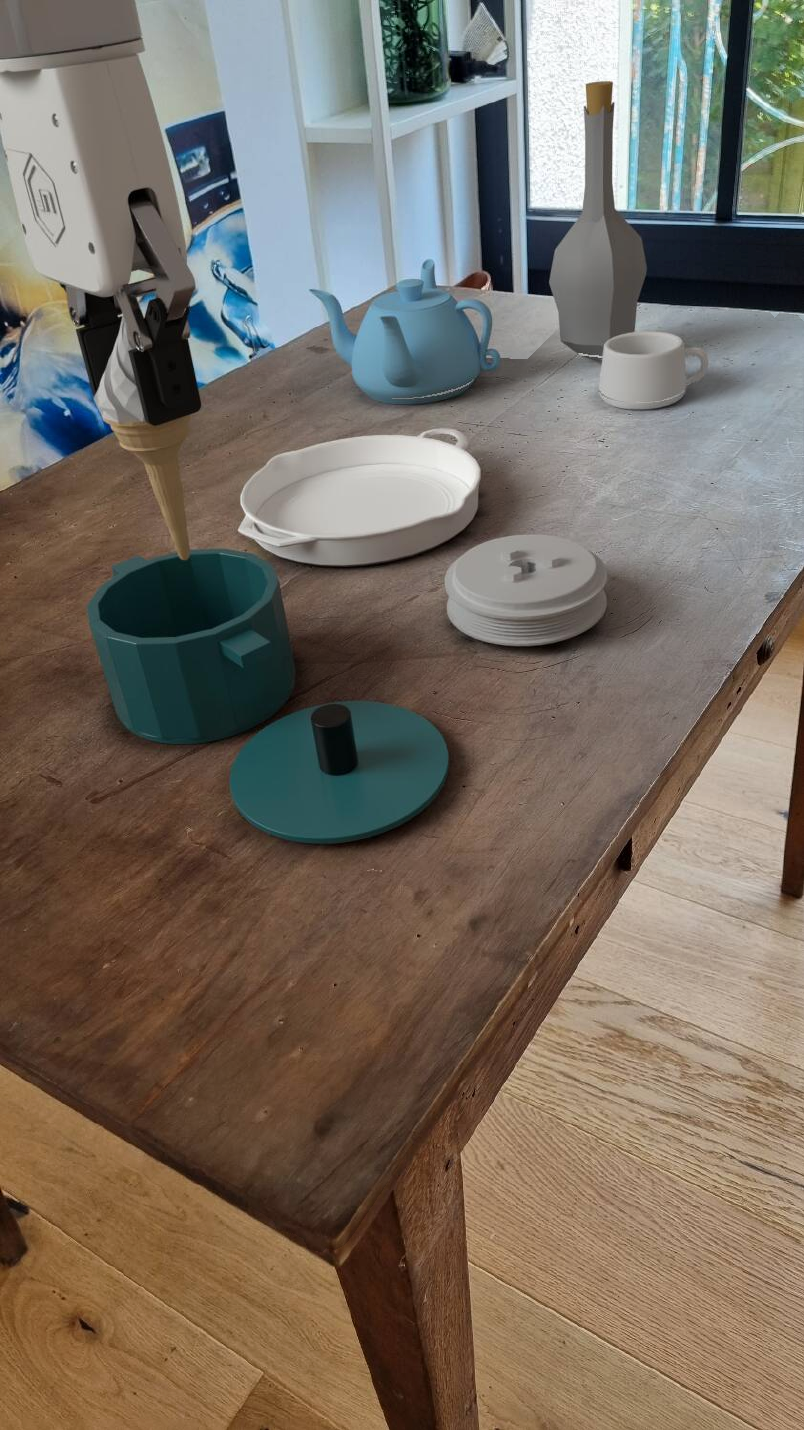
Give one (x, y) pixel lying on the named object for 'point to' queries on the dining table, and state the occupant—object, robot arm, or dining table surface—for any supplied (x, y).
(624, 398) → the mug
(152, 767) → the dining table surface
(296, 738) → the pot lid
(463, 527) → the pan
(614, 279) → the bottle
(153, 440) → the ice cream cone
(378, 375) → the teapot
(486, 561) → the lid
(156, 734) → the pot
